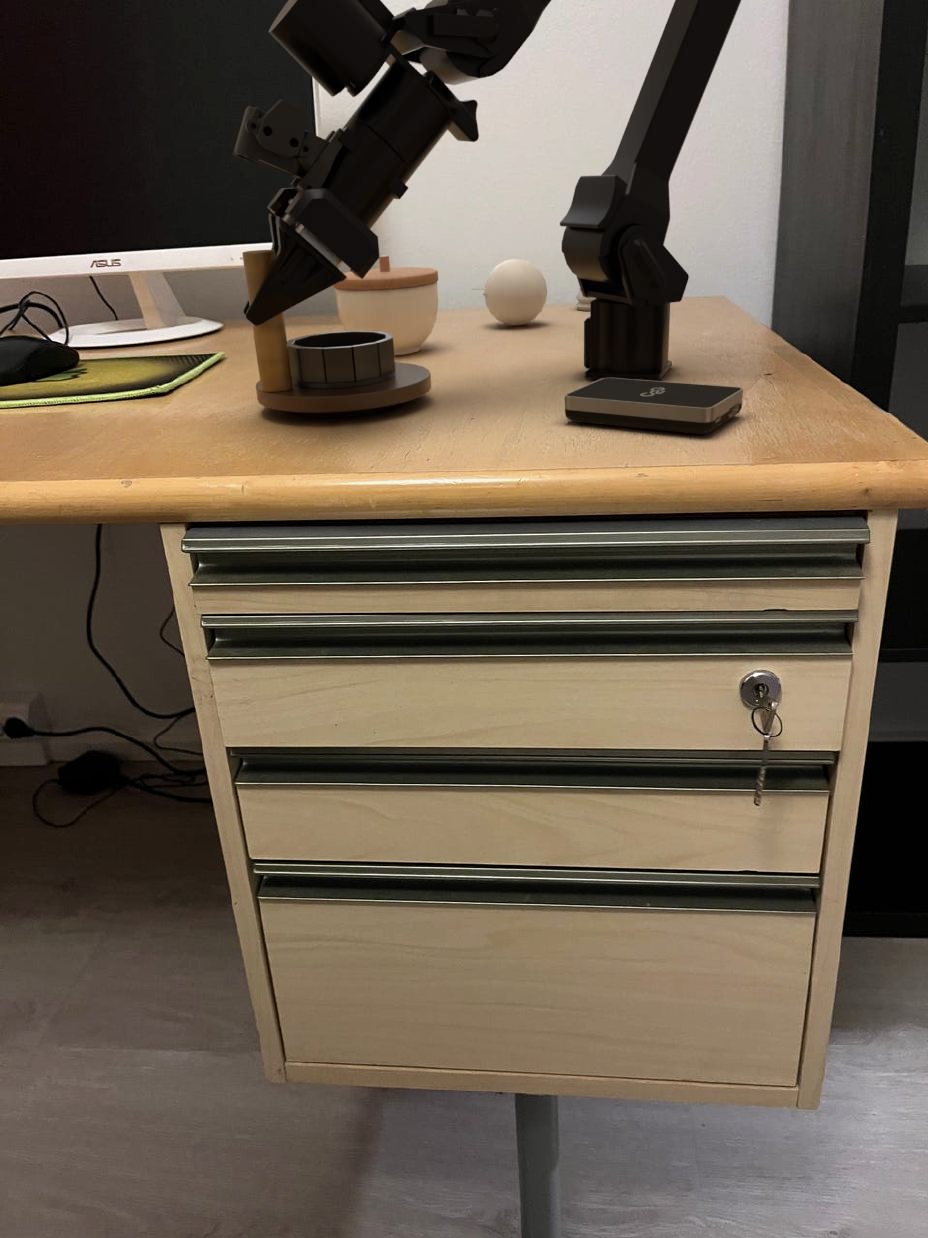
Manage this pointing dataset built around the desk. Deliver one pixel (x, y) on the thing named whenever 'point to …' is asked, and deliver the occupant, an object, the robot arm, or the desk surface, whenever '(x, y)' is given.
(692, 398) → the external hard drive
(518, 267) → the seamed sphere
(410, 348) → the trinket box
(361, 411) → the turntable hub
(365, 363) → the turntable
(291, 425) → the desk surface
